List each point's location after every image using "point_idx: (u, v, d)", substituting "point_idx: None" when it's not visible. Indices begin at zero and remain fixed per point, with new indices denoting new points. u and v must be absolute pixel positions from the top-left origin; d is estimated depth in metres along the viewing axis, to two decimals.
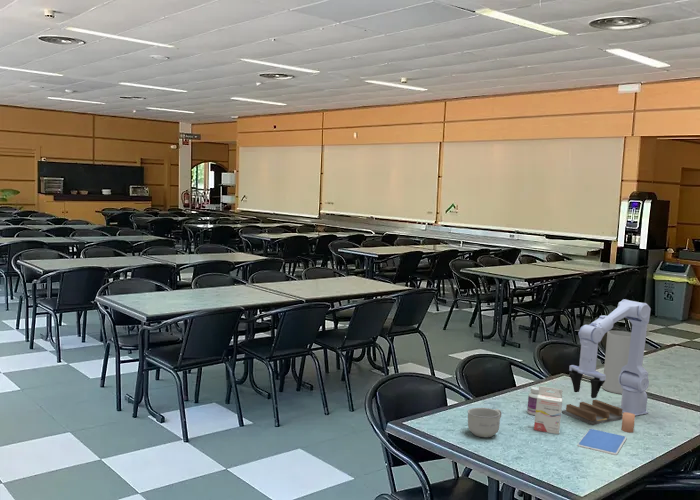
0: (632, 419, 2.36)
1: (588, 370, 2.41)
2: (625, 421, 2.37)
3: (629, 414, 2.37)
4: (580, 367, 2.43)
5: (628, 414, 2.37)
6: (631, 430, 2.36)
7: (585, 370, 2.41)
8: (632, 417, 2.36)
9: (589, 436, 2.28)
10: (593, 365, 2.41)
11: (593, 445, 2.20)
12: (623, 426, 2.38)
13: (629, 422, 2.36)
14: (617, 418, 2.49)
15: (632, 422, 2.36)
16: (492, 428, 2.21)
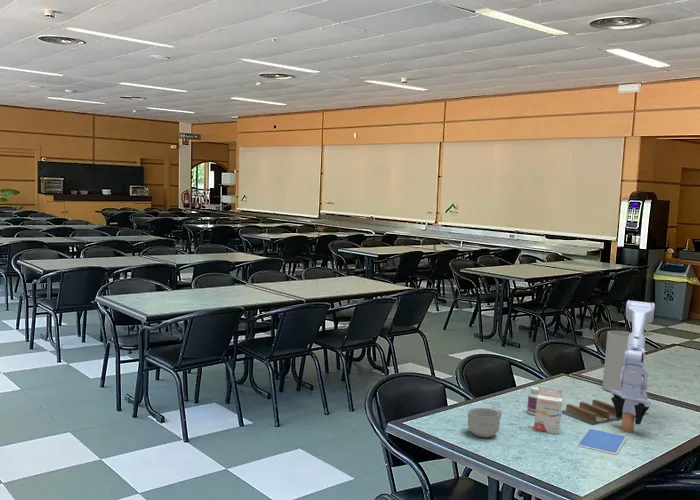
0: (632, 419, 2.36)
1: (632, 396, 2.34)
2: (625, 421, 2.37)
3: (629, 414, 2.37)
4: (623, 392, 2.37)
5: (628, 414, 2.37)
6: (631, 430, 2.36)
7: (629, 396, 2.35)
8: (632, 417, 2.36)
9: (589, 436, 2.28)
10: (638, 391, 2.35)
11: (593, 445, 2.20)
12: (623, 426, 2.38)
13: (629, 422, 2.36)
14: (617, 418, 2.49)
15: (632, 422, 2.36)
16: (492, 428, 2.21)
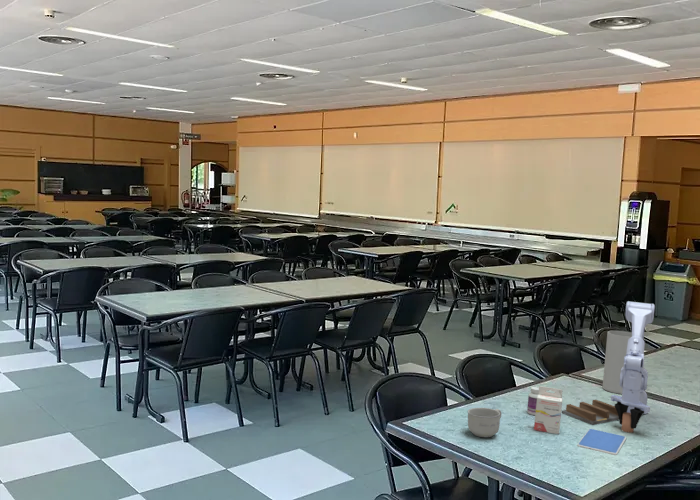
0: None
1: (631, 401, 2.35)
2: (625, 421, 2.37)
3: (629, 414, 2.37)
4: (623, 398, 2.37)
5: (628, 414, 2.37)
6: (631, 430, 2.36)
7: (628, 401, 2.35)
8: None
9: (589, 436, 2.28)
10: (637, 396, 2.35)
11: (593, 445, 2.20)
12: (623, 426, 2.38)
13: (629, 422, 2.36)
14: (617, 418, 2.49)
15: None
16: (492, 428, 2.21)
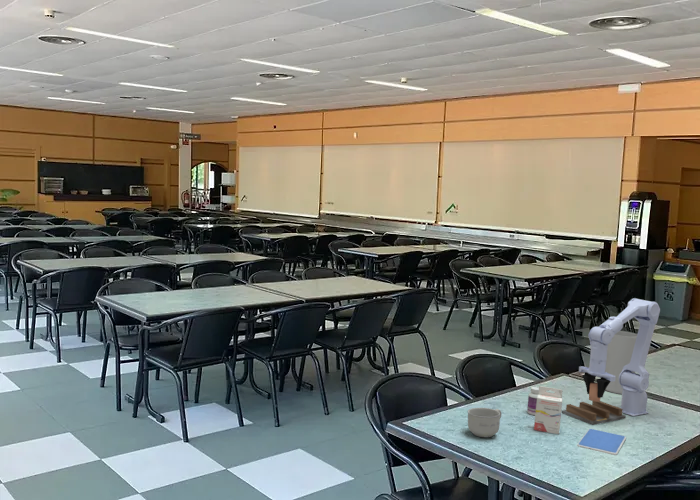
0: None
1: (598, 371, 2.45)
2: (592, 390, 2.47)
3: (596, 384, 2.47)
4: (590, 368, 2.47)
5: (595, 384, 2.47)
6: (598, 399, 2.46)
7: (595, 371, 2.45)
8: None
9: (589, 436, 2.28)
10: (603, 366, 2.45)
11: (593, 445, 2.20)
12: (590, 395, 2.48)
13: (596, 391, 2.46)
14: (617, 418, 2.49)
15: None
16: (492, 428, 2.21)
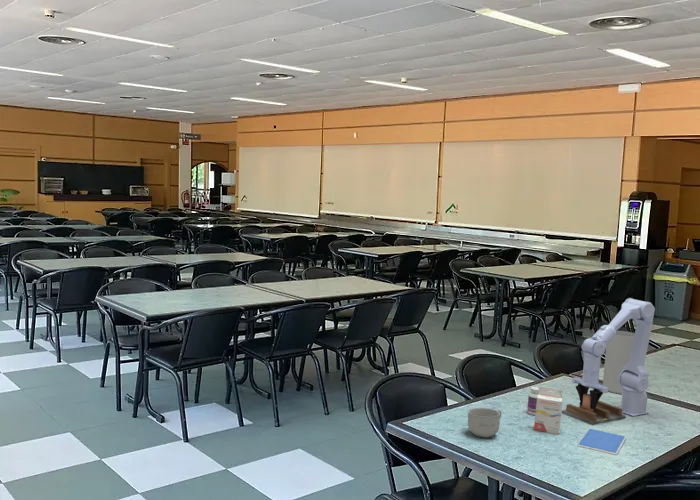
0: None
1: (591, 383, 2.47)
2: (585, 402, 2.49)
3: (589, 395, 2.50)
4: (583, 380, 2.49)
5: (588, 395, 2.50)
6: (591, 410, 2.49)
7: (588, 383, 2.47)
8: None
9: (589, 436, 2.28)
10: (596, 378, 2.47)
11: (593, 445, 2.20)
12: (583, 406, 2.50)
13: (589, 402, 2.48)
14: (617, 418, 2.49)
15: None
16: (492, 428, 2.21)
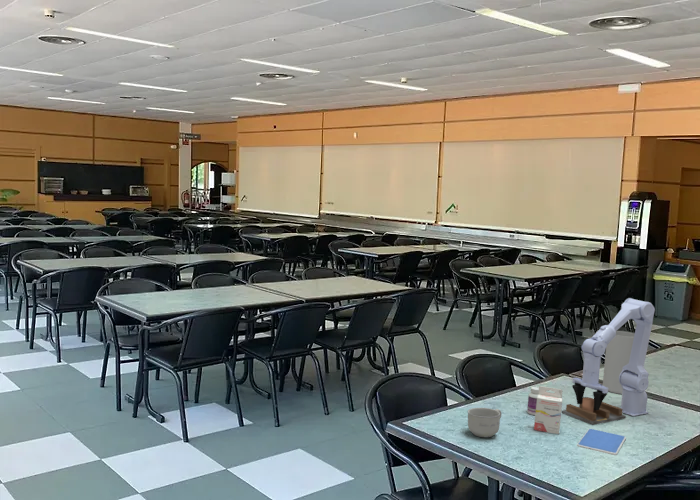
0: (591, 403, 2.49)
1: (591, 383, 2.47)
2: (585, 405, 2.49)
3: (589, 399, 2.50)
4: (583, 380, 2.49)
5: (588, 399, 2.50)
6: None
7: (588, 383, 2.47)
8: (591, 401, 2.48)
9: (589, 436, 2.28)
10: (596, 378, 2.47)
11: (593, 445, 2.20)
12: None
13: (589, 406, 2.49)
14: (617, 418, 2.49)
15: (591, 406, 2.49)
16: (492, 428, 2.21)
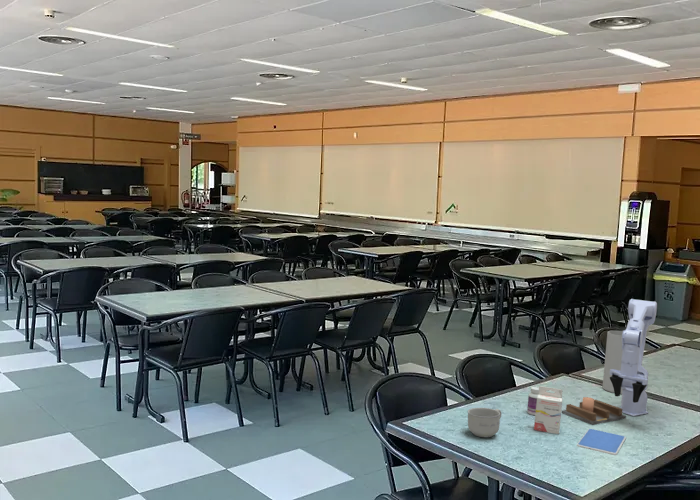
0: (591, 403, 2.49)
1: (630, 374, 2.41)
2: (585, 405, 2.49)
3: (588, 399, 2.50)
4: (622, 371, 2.43)
5: (588, 399, 2.50)
6: None
7: (627, 374, 2.41)
8: (591, 401, 2.48)
9: (589, 436, 2.28)
10: (635, 369, 2.41)
11: (593, 445, 2.20)
12: None
13: (588, 406, 2.49)
14: (617, 418, 2.49)
15: (591, 406, 2.49)
16: (492, 428, 2.21)
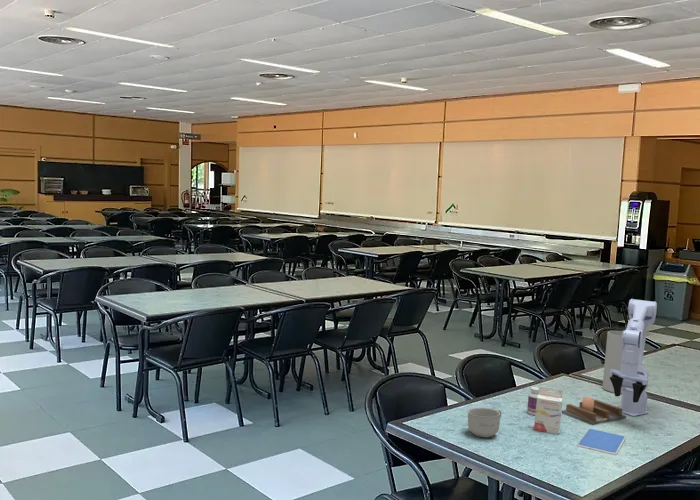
0: (591, 403, 2.49)
1: (630, 374, 2.41)
2: (585, 405, 2.49)
3: (588, 399, 2.50)
4: (622, 371, 2.43)
5: (588, 399, 2.50)
6: None
7: (627, 374, 2.41)
8: (591, 401, 2.48)
9: (589, 436, 2.28)
10: (635, 369, 2.41)
11: (593, 445, 2.20)
12: None
13: (588, 406, 2.49)
14: (617, 418, 2.49)
15: (591, 406, 2.49)
16: (492, 428, 2.21)
